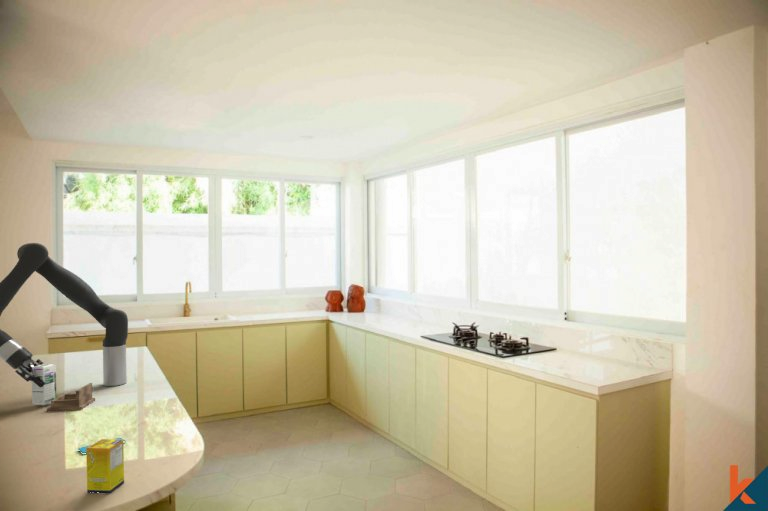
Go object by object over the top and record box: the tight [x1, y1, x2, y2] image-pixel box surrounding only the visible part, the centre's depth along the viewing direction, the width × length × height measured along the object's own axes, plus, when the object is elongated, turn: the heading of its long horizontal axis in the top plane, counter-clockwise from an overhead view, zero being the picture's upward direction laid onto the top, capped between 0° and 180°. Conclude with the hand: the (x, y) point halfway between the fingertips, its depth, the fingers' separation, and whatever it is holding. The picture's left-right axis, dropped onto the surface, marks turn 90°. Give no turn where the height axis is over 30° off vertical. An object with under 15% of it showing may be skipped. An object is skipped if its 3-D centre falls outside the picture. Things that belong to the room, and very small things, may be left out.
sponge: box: [77, 437, 126, 453], centre depth 151 cm, size 2×12×6 cm
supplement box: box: [86, 438, 125, 494], centre depth 124 cm, size 6×6×11 cm
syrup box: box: [30, 363, 58, 406], centre depth 195 cm, size 6×6×14 cm
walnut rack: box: [46, 382, 96, 413], centre depth 194 cm, size 12×12×7 cm
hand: (48, 382), depth 196 cm, fingers closed on syrup box, 7 cm apart
